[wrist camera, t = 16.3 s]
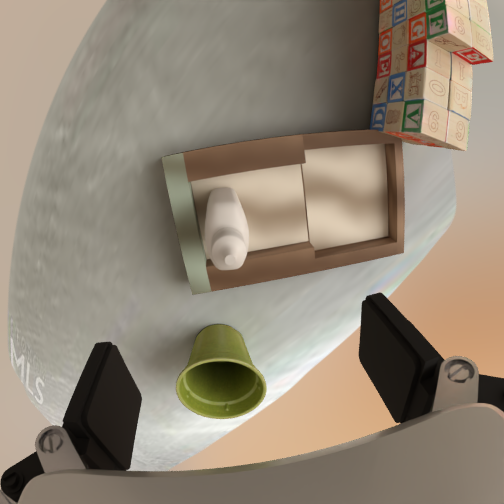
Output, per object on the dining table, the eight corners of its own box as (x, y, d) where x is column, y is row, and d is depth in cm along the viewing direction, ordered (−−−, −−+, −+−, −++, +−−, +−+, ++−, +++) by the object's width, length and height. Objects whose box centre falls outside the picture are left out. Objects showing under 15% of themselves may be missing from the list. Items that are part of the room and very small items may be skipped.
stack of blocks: (412, 145, 30) (489, 157, 19) (367, 131, 29) (441, 134, 18) (421, -3, 23) (482, -30, 11) (379, -23, 22) (435, -63, 10)
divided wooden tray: (166, 155, 29) (161, 157, 26) (386, 128, 30) (400, 129, 27) (194, 281, 34) (192, 294, 31) (390, 244, 35) (403, 252, 32)
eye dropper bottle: (256, 198, 30) (281, 235, 19) (231, 247, 32) (242, 307, 20) (216, 180, 29) (217, 205, 18) (192, 230, 30) (181, 284, 19)
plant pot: (190, 373, 38) (188, 422, 30) (173, 316, 35) (165, 364, 27) (259, 365, 39) (269, 413, 31) (252, 306, 36) (262, 352, 28)
